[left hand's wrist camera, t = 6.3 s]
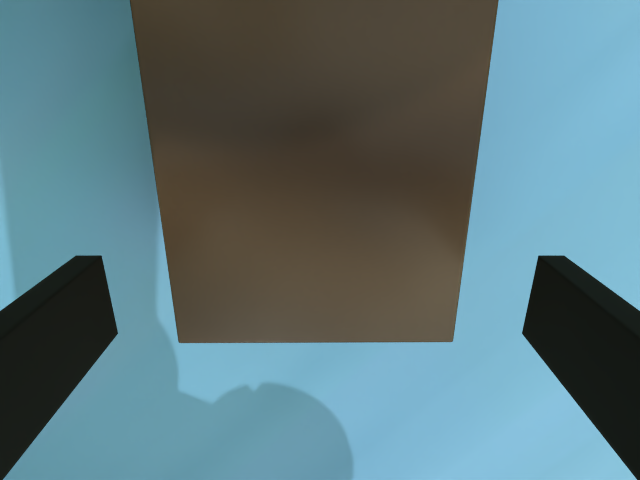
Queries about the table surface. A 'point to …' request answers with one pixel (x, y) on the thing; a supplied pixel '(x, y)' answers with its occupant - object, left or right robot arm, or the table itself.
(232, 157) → the brown block
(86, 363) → the left robot arm
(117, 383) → the table surface
